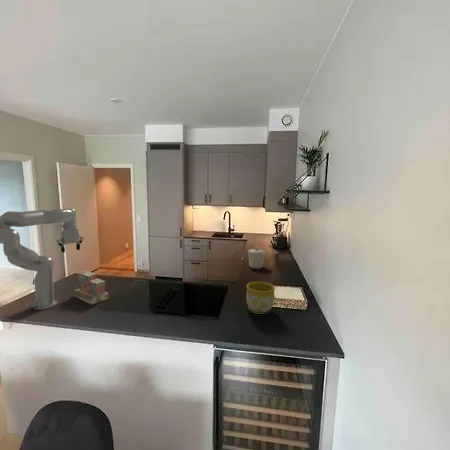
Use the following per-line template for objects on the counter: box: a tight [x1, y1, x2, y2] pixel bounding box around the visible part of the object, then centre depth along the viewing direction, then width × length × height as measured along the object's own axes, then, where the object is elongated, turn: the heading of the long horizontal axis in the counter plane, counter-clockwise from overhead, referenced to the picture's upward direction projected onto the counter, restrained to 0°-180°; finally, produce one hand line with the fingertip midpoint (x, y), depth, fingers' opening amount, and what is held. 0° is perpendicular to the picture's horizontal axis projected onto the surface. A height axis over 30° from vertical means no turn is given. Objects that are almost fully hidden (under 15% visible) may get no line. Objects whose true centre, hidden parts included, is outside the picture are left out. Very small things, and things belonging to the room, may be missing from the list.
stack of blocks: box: [77, 270, 106, 297], centre depth 174 cm, size 21×6×12 cm, turn 58°
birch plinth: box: [73, 288, 110, 306], centre depth 176 cm, size 12×22×4 cm, turn 56°
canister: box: [247, 246, 266, 270], centre depth 260 cm, size 18×18×21 cm
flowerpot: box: [245, 281, 276, 315], centre depth 164 cm, size 18×18×16 cm
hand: (70, 251), depth 179 cm, fingers open, 9 cm apart
